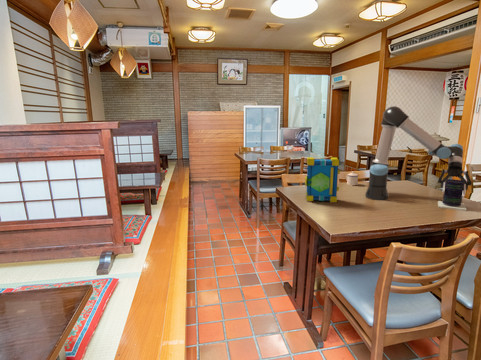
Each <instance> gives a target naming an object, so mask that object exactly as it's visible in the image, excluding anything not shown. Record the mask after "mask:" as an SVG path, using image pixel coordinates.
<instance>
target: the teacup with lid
mask: <svg viewBox="0 0 481 360" xmlns="http://www.w3.org/2000/svg"><path fill="white" fill-rule="evenodd" d="M345 179H346V181H347V182H346V185H347V184H348V185H347V186H350V185H357V186H358V184H359V183H358V182H359V174H357V173H356V172H355V171H351V172H350V173H348V174H347V175H346V176H345Z"/></svg>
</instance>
